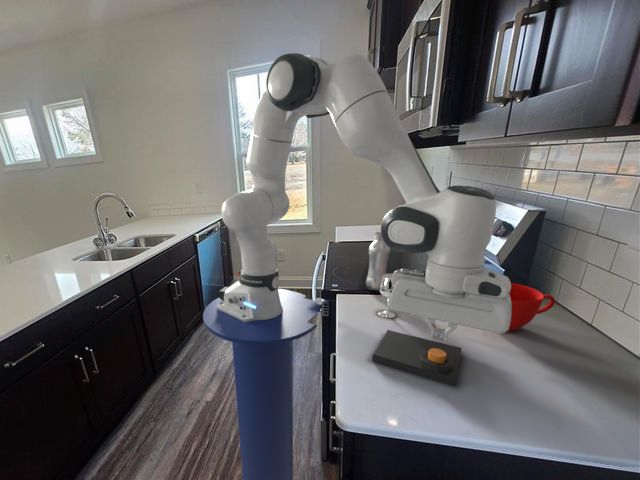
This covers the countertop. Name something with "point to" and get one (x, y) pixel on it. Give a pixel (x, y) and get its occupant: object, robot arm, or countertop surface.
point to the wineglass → (386, 294)
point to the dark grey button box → (417, 356)
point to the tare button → (437, 355)
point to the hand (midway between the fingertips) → (438, 338)
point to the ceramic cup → (526, 305)
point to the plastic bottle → (377, 262)
